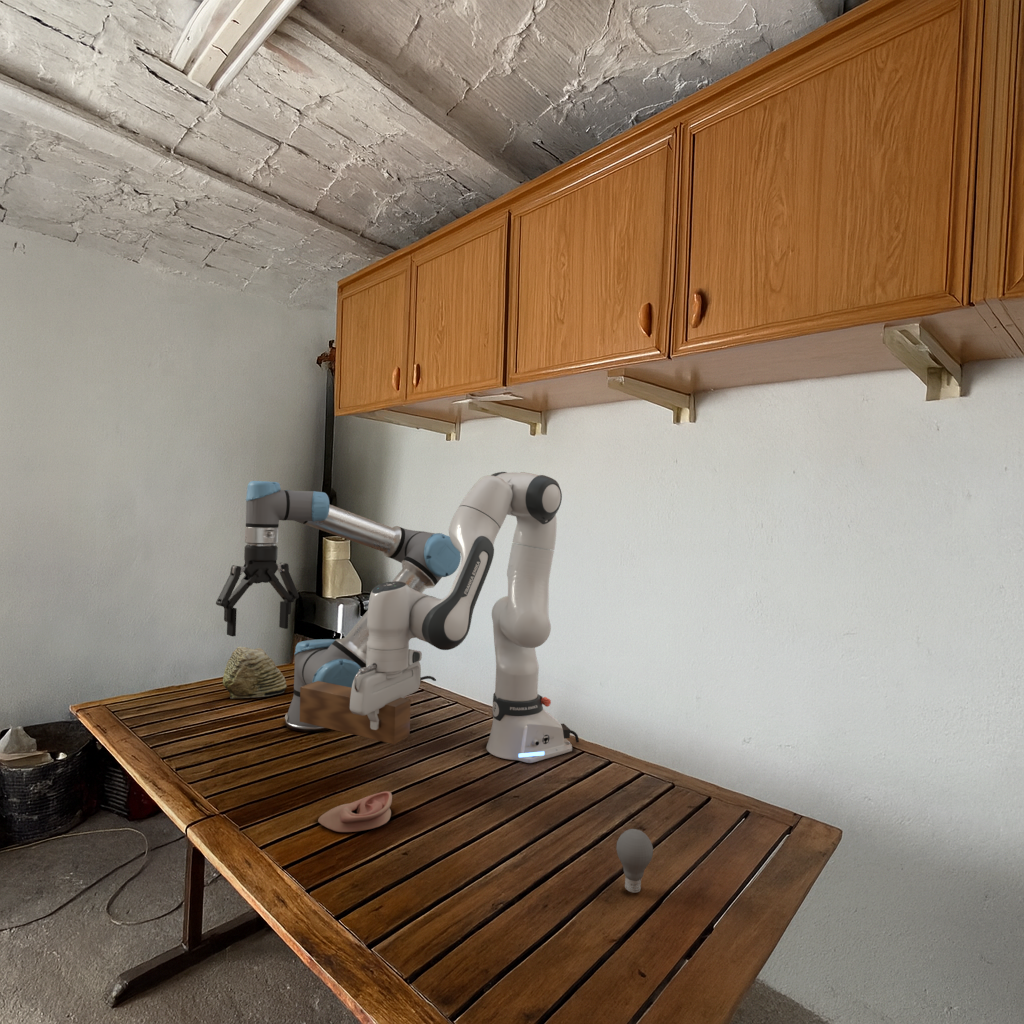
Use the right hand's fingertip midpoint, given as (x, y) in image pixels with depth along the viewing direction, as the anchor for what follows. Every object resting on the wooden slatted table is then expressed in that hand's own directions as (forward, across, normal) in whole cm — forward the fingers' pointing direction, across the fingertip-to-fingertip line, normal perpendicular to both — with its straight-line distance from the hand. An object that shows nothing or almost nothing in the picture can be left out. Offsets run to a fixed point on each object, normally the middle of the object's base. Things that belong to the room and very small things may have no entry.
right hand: (385, 723), depth 135 cm
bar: (+3, 0, +9) cm, 9 cm away
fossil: (+15, +34, +75) cm, 84 cm away
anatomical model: (+16, -11, -1) cm, 19 cm away
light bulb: (+16, -6, -56) cm, 58 cm away
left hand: (-14, +3, +40) cm, 43 cm away
